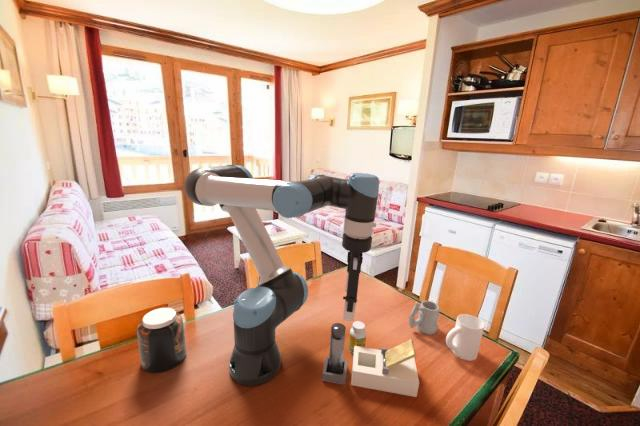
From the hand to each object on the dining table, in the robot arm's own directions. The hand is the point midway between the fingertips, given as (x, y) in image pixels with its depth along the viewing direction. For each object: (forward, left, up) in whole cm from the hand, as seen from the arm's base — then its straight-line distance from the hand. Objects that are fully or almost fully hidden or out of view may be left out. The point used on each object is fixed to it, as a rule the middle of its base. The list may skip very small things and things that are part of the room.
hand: (349, 304), depth 79 cm
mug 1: (+27, +26, -23) cm, 44 cm away
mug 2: (+37, +16, -23) cm, 47 cm away
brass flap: (+15, 0, -14) cm, 21 cm away
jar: (-54, -7, -23) cm, 59 cm away
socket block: (+12, 0, -23) cm, 25 cm away
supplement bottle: (+4, +10, -23) cm, 25 cm away
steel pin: (-2, -2, -23) cm, 23 cm away
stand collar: (-2, -2, -23) cm, 23 cm away
